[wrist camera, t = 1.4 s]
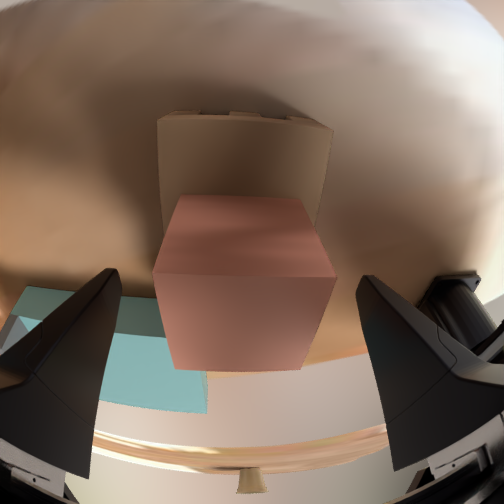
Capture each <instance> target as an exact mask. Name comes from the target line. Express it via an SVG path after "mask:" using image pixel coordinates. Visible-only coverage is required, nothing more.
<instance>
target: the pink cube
mask: <svg viewBox="0 0 504 504" xmlns="http://www.w3.org/2000/svg"><path fill="white" fill-rule="evenodd" d="M152 276H153V281H154V286H155V291H156V296H157V301H158V305H159V310H160V314H161V318H162V323H163V327H164V331H165V335H166V339H167V343H168V346H169V350H170V354H171V357H172V361H173V364H174V368H175V369H178V370H194V371H220V372H260V371H286V370H300V369H301V367H302V365H303V362H304V360H305V358H306V355H307V353H308V351H309V349H310V346H311V344H312V341H313V339H314V337H315V334H316V332H317V329H318V327H319V324H320V322H321V319H322V317H323V314H324V312H325V309H326V306H327V304H328V301H329V298H330V296H331V293H332V290H333V288H334V285H335V282H336V279H337V275H336V273H335V271H334V269H333V267H332V264H331V262H330V260H329V258H328V256H327V253H326V251H325V249H324V247H323V245H322V243H321V241H320V239H319V236H318V234H317V232H316V230H315V228H314V226H313V224H312V222H311V220H310V218H309V216H308V214H307V212H306V210H305V208H304V206H303V204H302V202H301V200H300V199H286V198H270V197H251V196H228V195H185V194H181V195H180V198H179V200H178V203H177V205H176V208H175V210H174V213H173V216H172V218H171V221H170V223H169V226H168V229H167V231H166V234H165V237H164V239H163V242H162V245H161V248H160V251H159V253H158V256H157V259H156V262H155V265H154V268H153V271H152Z"/></svg>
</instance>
